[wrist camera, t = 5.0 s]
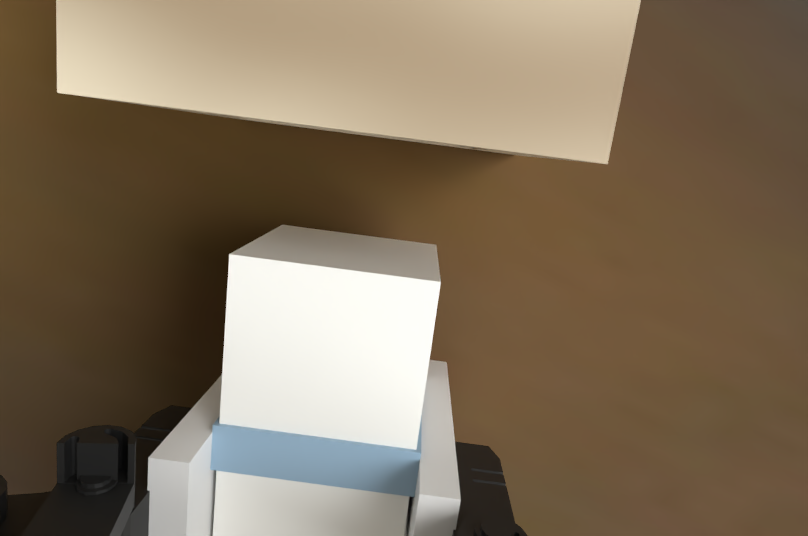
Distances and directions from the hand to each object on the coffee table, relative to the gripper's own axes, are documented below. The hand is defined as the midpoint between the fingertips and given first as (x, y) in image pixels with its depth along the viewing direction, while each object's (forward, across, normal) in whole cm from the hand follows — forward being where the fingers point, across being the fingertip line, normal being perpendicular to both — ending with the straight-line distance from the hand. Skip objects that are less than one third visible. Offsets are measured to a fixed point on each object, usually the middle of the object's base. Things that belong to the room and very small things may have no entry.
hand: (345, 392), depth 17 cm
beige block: (+1, 0, +10) cm, 10 cm away
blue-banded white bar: (-1, 0, -2) cm, 3 cm away
